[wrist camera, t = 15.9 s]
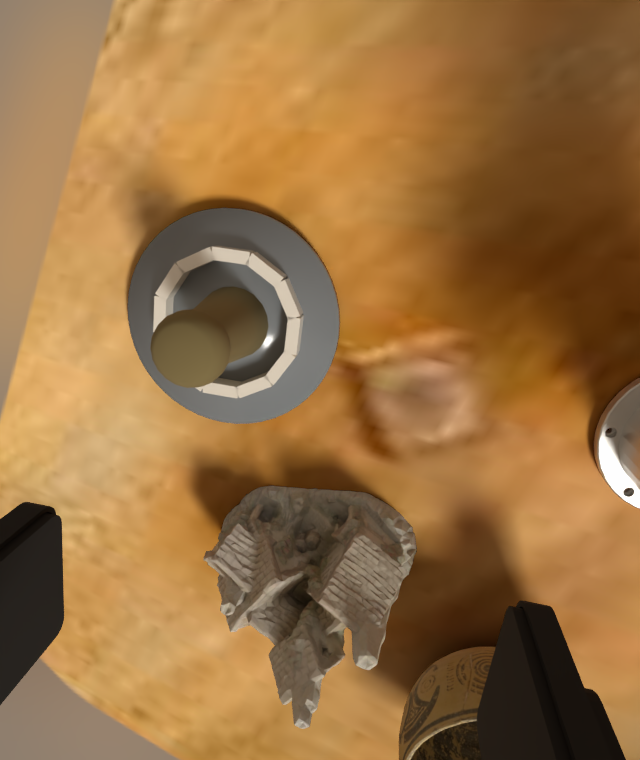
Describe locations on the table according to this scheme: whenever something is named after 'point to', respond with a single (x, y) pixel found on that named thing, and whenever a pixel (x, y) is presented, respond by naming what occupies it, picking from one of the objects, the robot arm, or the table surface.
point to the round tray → (259, 277)
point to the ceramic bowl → (446, 708)
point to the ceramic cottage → (312, 580)
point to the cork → (209, 337)
